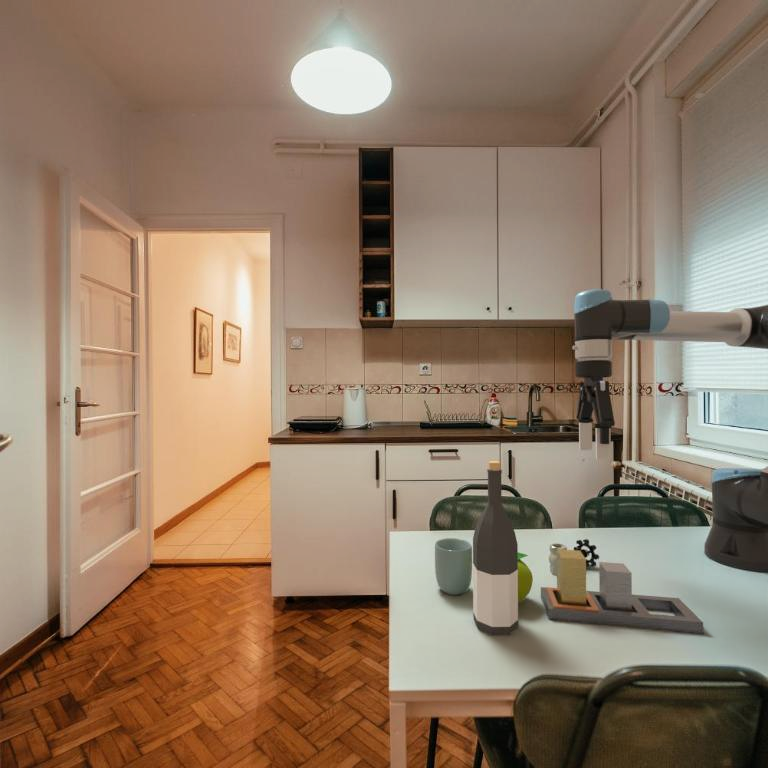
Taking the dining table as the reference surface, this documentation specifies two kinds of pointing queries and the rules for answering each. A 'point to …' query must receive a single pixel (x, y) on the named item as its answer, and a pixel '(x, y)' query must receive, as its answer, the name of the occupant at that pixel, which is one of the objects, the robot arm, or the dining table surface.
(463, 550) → the cup
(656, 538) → the dining table surface
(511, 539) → the wine bottle
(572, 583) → the brass block
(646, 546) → the dining table surface
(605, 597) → the grey rectangular block
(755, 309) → the robot arm
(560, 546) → the valve
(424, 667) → the dining table surface
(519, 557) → the fruit
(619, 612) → the grey compartment tray
